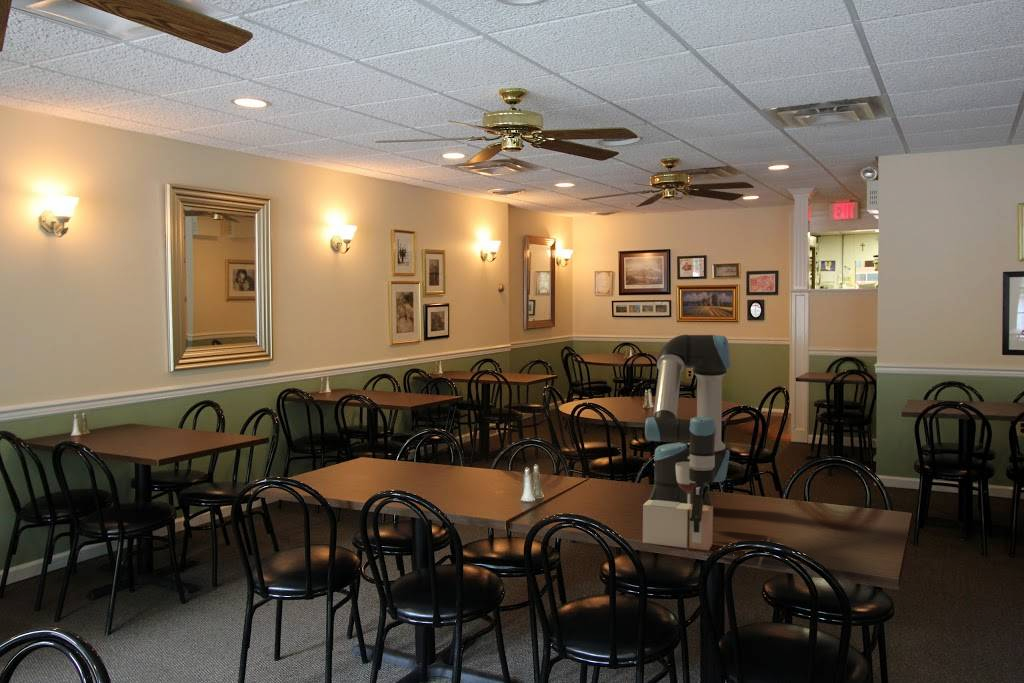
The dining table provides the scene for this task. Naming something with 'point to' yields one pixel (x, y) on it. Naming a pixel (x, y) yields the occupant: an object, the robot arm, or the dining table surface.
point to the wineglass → (684, 478)
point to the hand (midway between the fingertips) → (700, 536)
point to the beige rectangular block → (666, 523)
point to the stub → (703, 529)
